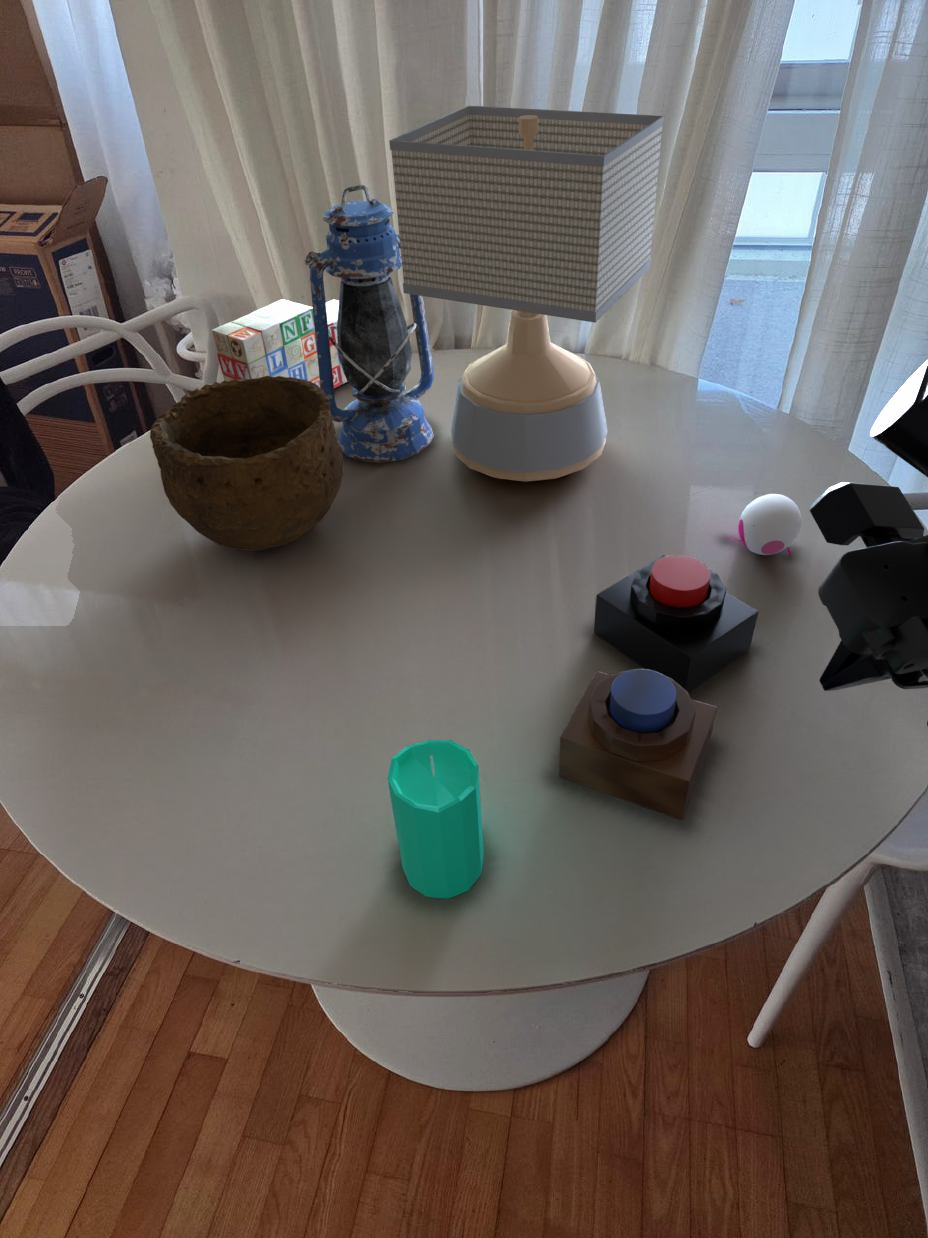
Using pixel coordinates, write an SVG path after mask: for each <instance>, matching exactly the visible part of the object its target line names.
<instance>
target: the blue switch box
mask: <svg viewBox="0 0 928 1238" xmlns="http://www.w3.org/2000/svg"><path fill="white" fill-rule="evenodd" d="M626 671H627V670H626ZM626 671H625V670H624V671H618V672H615V673H614V674H609V673H605V672H603V671H599V670H595V672H594V674H593V676H592V678H591V679H590V681H589V683H588V685H587V688H586V689H585V691H584V692H583V694H582V696H581V698H580V700H579V702H578V703H577V705H576V707H575V709H574V711H573V713H572V715H571V717H570V719H569V721H568V722H567V724H566V726H565V728H564V730H563V731H562V734H561V735H560V737H559V756H558V777H559V778H561V779H563V780H564V779H565V780H566V781H570V782H573V783H576V784H578V785H580V786H585V787H587V788H589V789H593V790H596V791H598V792H601V793H604V794H606V795H610V796H613V797H614V798H618V799H621V800H624V801H625V802H629V803H633V804H635V805H637V806H640V807H643V808H647V809H649V810H651V811H655V812H657V813H660V814H663V815H666V816H669V817H671V818H675V819H677V820H679V821H682V820H683V819H684V816H685V813H686V811H687V808H688V805H689V802H690V799H691V797H692V794H693V792H694V789H695V786H696V785H697V784H696V783H697V781H698V778H699V776H700V773H701V770H702V768H703V765H704V762H705V760H706V757H707V754H708V751H709V748H710V745H711V741H712V735H713V732H714V727H715V722H716V717H717V713H718V706H716V705H712V704H708V703H705V702H702V701H700V700H699V701H698V700H695V699H692V698H691V695H690V692H689V693H688V692H687V691H686V690H685V689H683V688H682V687H681V686H680V685H679V684H677V683H676V682H675V681H674V680H672V679H671V678H669V677H667V678H668V679H669V680H670V681H671V682H672V683H673V685H674V687H675V689H676V692H677V697H676V704H675V710H674V716H673V719H672V721H671V722H670V724H669V725H668V726H667V727H665V728H664V729H662V730H660V731H657V732H653V733H637V732H633V731H630V730H627V729H625V728H623V727H622V726H620V725H619V724H618V723H617V722H616V721H615V720H614V719H613V717H612V715H611V713H610V696H611V687H612V683H613V682H614V680H615V679H616V678H617V677H618V676H619V675H620V674H622V673H624V672H626Z"/></svg>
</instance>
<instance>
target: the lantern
mask: <svg viewBox="0 0 928 1238" xmlns="http://www.w3.org/2000/svg"><path fill="white" fill-rule="evenodd" d="M357 191H363V192H364V196H365V198H366V200H362V199H361V200H352V201H347V198H348V197H347V196H348V194H349V193H352V192H357ZM394 214H395V212H394V209H393V207H391V206H389V205H388V204H386V203H385V204H384V203H382V202H380V201H379V200H378V199H377V198H371V194H370V190H369V189H368V187H366V186H365V184H357V185H353V186H348V187H346V188H345V189H344V190H343V192H342V194H341V203H339V204H337V205H334V206H333V207H332V208H331V209H328V210H326V211H325V212H324V213H323V214H322V221H323V222H325V223H327V224H328V232H327V233H326V234H325V240H326V247H327V248H326V249H325V250H323V251H322V252H316V251H313V250H311V251H309V252H308V254H307V255H306V257H305V259H304V261H303V264H304V265H305V266H308V268H309V281H310V283H309V284H310V291H311V292H310V293H311V304H312V307H313V315H314V325H315V335H316V346H317V356H318V367H319V377H320V387H321V389H322V390H323V391H324V392H325V394H326V396H327V398H328V401H329V402H330V403H331V404H330V411H331V416H332V420H333V422H336V423H342V427H341V430H340V433H339V435H338V438H337V440H338V443H339V446H340V448H341V451H342V453H343V454H344V455H346V457H349V458H352V459H355V460H357V461H360V462H367V463H380V464H381V463H389V462H397V461H401V460H405V459H408V458H410V457H413V456H416V455H418V454H420V453H421V452H423V451H424V450H426V449H427V448H428V447H429V446H430V445H431V444H432V441H433V439H434V437H435V435H434V432H433V427H432V426H431V425H430V423H429V421H428V420H427V419H426V416H425V415H426V414H425V410H424V406H423V402H421V401H420V400H419V398H421V397H423V396H424V395H426V394H427V392H428V391H429V390H430V389H431V388H432V386H433V383H434V380H435V375H434V371H435V370H434V365H433V358H432V357H433V356H432V351H431V344H430V336H429V330H428V324H427V323H428V322H427V318H426V317H427V315H426V311H425V303H424V296H419V295H413V294H409V298H410V305H411V311H412V312H411V313H412V319H413V322H412V323H410V324H409V325H407V321H406V318H405V315H404V312H403V309H402V306H401V303H400V301H399V296H398V294H397V292H396V291H397V290H396V288H395V285H394V282H393V279H392V277H391V274H392V273H394V272H397V271H398V270H400V269H401V268H402V258H401V251H400V250H401V247H400V236H399V233H396V229H395V227H394V226H392V225H391V222H390V221H391V220H390V218H391V217H392V216H393V215H394ZM324 272H326V273H327V274H329V275H330V276H331V277H335V278H340V280H341V281H340V287H339V298H338V301H339V308H338V320H337V326H334V325H333V326H329V327H328V322H327V312H326V303H327V302H326V291H325V282H324ZM330 329H337V338H338V345H337V344H336V343H335V341H334V340H333V338H332V336H331V334H330ZM410 329H411V330H410ZM409 330H410V331H409ZM414 332H415V340H416V347H417V352H418V361H419V366H420V379H419V381H418V382H417V384H415V385H414V386H413V387H412V388H410V389H408V390H407V385H406V382H405V380H406V378H407V376H408V375H409V374H410V372H411V370H412V369H411V367H412V357H413V356H412V355H413V351H412V345H411V341H410V339H411V337H412V335H413V334H414ZM329 339H330V341H331V342H332V344H333V345H334V346H335V347H336V349H337V350H338V357H339V360H340V363H341V366H342V369H343V372H344V375H345V377H346V379H347V383H349V384H350V385H351V387H353V388H352V397H354V398H355V399H354V400H352V401H351V402H349V403H348V404H346V405H345V407H344V408H340V407H338V405H337V403H336V395H335V388H334V384H333V374H332V363H331V353H330V343H329Z"/></svg>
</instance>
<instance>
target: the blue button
mask: <svg viewBox="0 0 928 1238" xmlns="http://www.w3.org/2000/svg"><path fill="white" fill-rule="evenodd" d="M676 697H677V692H676V689H675V687H674V685H673V683H672V682H671V681H670V680H669V679H668V678H667V677H666V676H664V675H662V674H661V673H658V672H656V671H652V670H648V669H644V668H634V669H629V670H626V672H624V673H622V674H620V675H619V676H618V677H617V678H616V679H615V680H614V682H613V683H612V687H611V696H610V713H611V715H612V717H613V719H614V720H615V721H616V722H617V723H618V724H619V725H620V726H622V727H623V728H625V729H627V730H630V731H633V732H637V733H653V732H657V731H660V730H662V729H664V728H665V727H667V726H668V725H669V724H670V722H671V721H672V719H673V716H674V710H675V704H676Z"/></svg>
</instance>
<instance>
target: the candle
mask: <svg viewBox="0 0 928 1238" xmlns="http://www.w3.org/2000/svg"><path fill="white" fill-rule="evenodd" d="M387 783H388V790H389V795H390V803H391V807H392V813H393V819H394V826H395V832H396V837H397V842H398V849H399V853H400V854H399V856H400V860H401V861H400V862H401V867H402V871H403V872H404V875H405V877H406V879H407V882H408V885H409V886H410V887H411V888H413V889H415V890H416V891H417V892H419V893H420V894H421V895H422V896H425V897H427V898H435V899H436V898H437V899H447V900H449V899H452V898H454V897H456V896H459V895H461V894H464V893H466V892H468V891H470V890H471V889H472V888H473V886H474V885H475V883H476V882H477V881H478V880H479V878H480V877H481V876H482V874H483V873H482V872H483V865H484V857H485V856H484V854H485V853H484V839H483V837H484V836H483V821H482V820H483V819H482V804H481V802H482V800H481V786H480V784H481V783H480V767H479V763H478V762H477V760H476V759H475V757H474V755H473V754H472V751H471V750H470V749H469V748H468V747H465V746H463V745H461V744H460V743H457V742H456V741H454V740H452V739H426V740H423V741H419V742H416V743H412V744H409V745H406V746H404V748H402V749H400V750H399V751H398V752H397V753H396V754H394V755H393V756H392V757H391V759H390V765H389V769H388V773H387Z"/></svg>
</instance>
